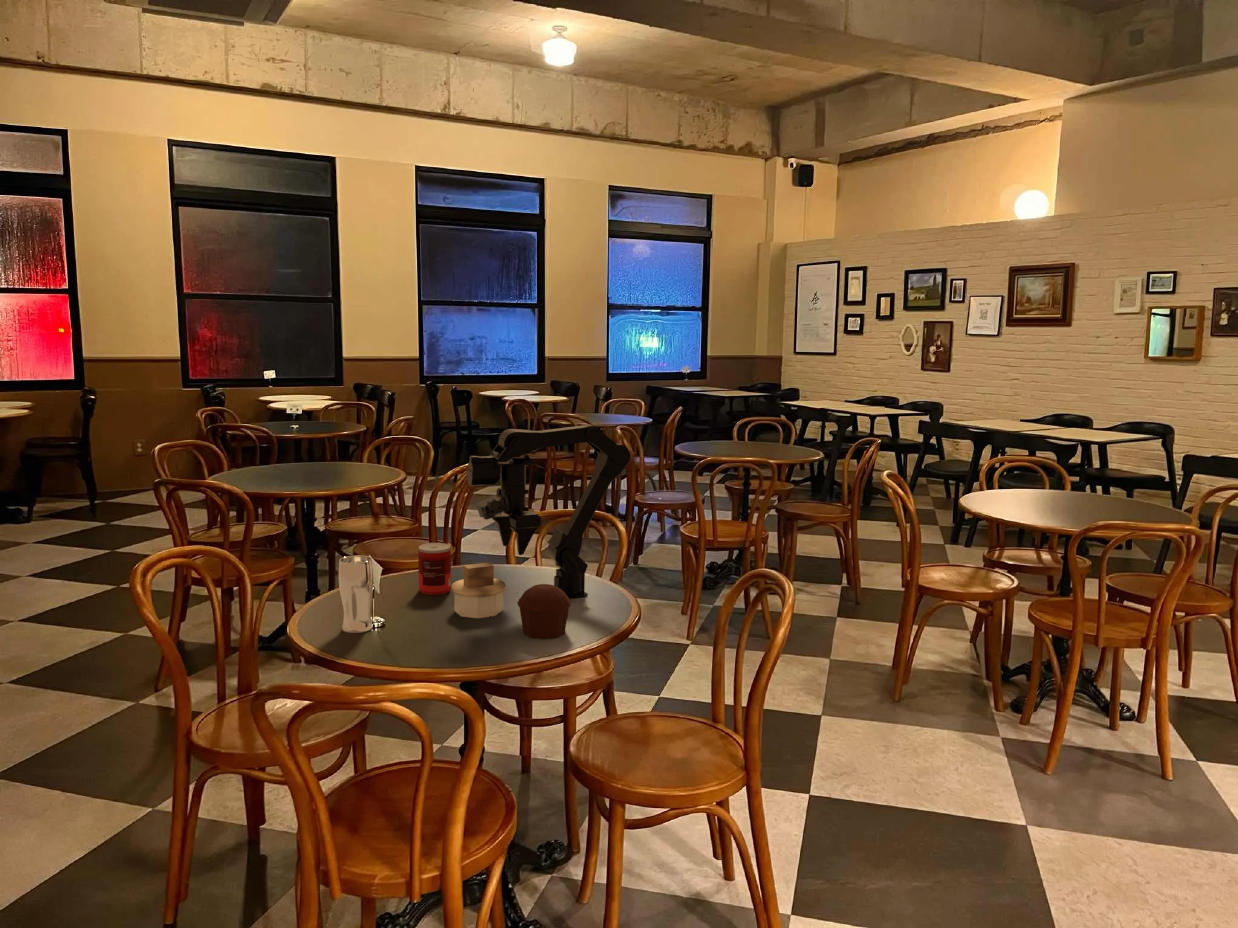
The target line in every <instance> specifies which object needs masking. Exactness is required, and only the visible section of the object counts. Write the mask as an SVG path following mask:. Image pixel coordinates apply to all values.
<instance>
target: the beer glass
mask: <svg viewBox="0 0 1238 928" xmlns="http://www.w3.org/2000/svg"><path fill="white" fill-rule="evenodd" d="M338 586H339V587H338V588H339V594H340V598H341V603H342V609H343V621H342V627H341V629H342V631H343V632H344V633H348V634H361V633H362V634H363V633H366V632H368V631H370V630H372V629H373V621H372V617H371V604H372V603H371V602H372V597H373V591H374V567H373V557H371V556H368V555H359V554H358V555H356V554H355V555H348V556H347V555H346V556H344V557H341V558H339V561H338Z"/></svg>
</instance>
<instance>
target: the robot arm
mask: <svg viewBox="0 0 1238 928" xmlns="http://www.w3.org/2000/svg"><path fill="white" fill-rule="evenodd" d="M583 443H587V444H588V445H589V446H590V448H592V449H593V450H594V451H595V452H596V453H597V456H596V458H595V462H594V463H595V465H594V470H593V471H594V472H593V474H592V476H591V478H590V480H589V482H588V484H587V486H586V487H585V490H584V492H583V494H582V495H581V497H580V499H579V501H578V502H577V505H576V506H575V508H574V510H573V512H572V514H571V516H570V518H569V520H568V522H567V523H566V524H565V526H563V527H562V528H561V529H558V527H555V528H554V529H553V532H552V535H551V537H550V538H549V539H548V541H547V544H548V546H547V549H546V550H547V554H548V556H549V558H550V559H551V560H553V562H554V563H555V566H556V567H558V568H556V569H555V575H554V577H553V579H554V580H553V585H554V586H557V587H558V588H560V589H561V590H562V591H563V592H565V594H566V595H567V596H568V598H569V599H574V598H575V599H576V598H581V597H588V595H589V593H588V592H586V591H585V587H586V586H585V585H586V584H585V583H586V580H585V577H586V572H587V569H588V567H589V565H588V563H587V562H585V561H584V560H583V559H582V558H581V557H580V554H581V550H582V548H583V547H582V546H583V538H584V533H585V532H586V529H587V528H588V526H589V525H590V522H591V521H592V519H593V517H594V514H595V513H596V511H597V509H598V507H599V505H600V504H601V502H602V500H603V498H604V496H605V494H606V492H607V491H608V488H609V487H610V485H611V483H612V482H613V481H614V480H615V479H616V478H617V477H619V476H620V475H621V474H622V473H623V471H624V470H625V469H626V467H627V466H628V465H629V463H630V461H631V458H632V456H631V453H630V450H629V449H628V447H626V446H625V445H623V444H620V443H618V442H616V441H614V440H613V439H611V438H610V437H608V436H607V435H606V434H604V433H603V432H602V431H601V430H600V429H599V428H598V427H597V426H596V425H592V424H590V423H585V424H581V425H576V426H568V427H566V426H565V427H561V428H560V427H559V428H552V429H551V428H550V429H542V430H530V429H520V428H518V429H516V428H508V429H505V430H503V431H502V432H501V434H500V435H499V437H498V443H497V444H496V446H495V447H494V449H493V450H492V451H491V453H490V454H489V455H488V456H487V455H486V456H485V455H483V456H478V455H470V456H469V462H468V464H467V469H466V476H467V477H466V479H467V483H468V486H469V487H481V486H482V487H483V486H486V487H487V486H495V485H496V483H498V482H499V481H500V487H497V489H496V494H495V495H492V496H489V497H487V498H486V499H483V500H481V501H479V502H477V503H476V504H475V506H476V509H477V511H478V512H477V513H478V515H479V517H480V518H483V519H484V520H485V521H486V520H490V519H491V520H492V521H494V523H496V526H497V528H498V532H499V536H500V540H501V543H502V546H503V547H507V546H508V545H509V544H510V540H511V538H512V533H513V532H514V533H515V539H516V540H515V541H516V549H517V554H518V555H519V556H522V555H524V554H525V552H526V550H527V548H528V546H529V543H530V541H531V540H532V538H533V536H534V535H535V532H536V530H538V529H539V527H542V517H541V516H540V515H539V514H538V513H536V512H534V511H530V509H529V508H530V507H529V505H526V503H527V502H526V501H527V498H526V495H528V494H530V493H529V491H530V489H529V488H526V487H527V485H526V484H527V483H526V482H527V481H526V479H527V474H526V472H527V471H526V470H527V468H526V467H527V466H534V465H535V461H534V460H532V458H531V457H530V456H529V454H531V453H533V452H536V451H537V450H538V451H539V450H541V449H544V448H551V447H559V446H566V445H567V446H568V445H574V444H583Z"/></svg>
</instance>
